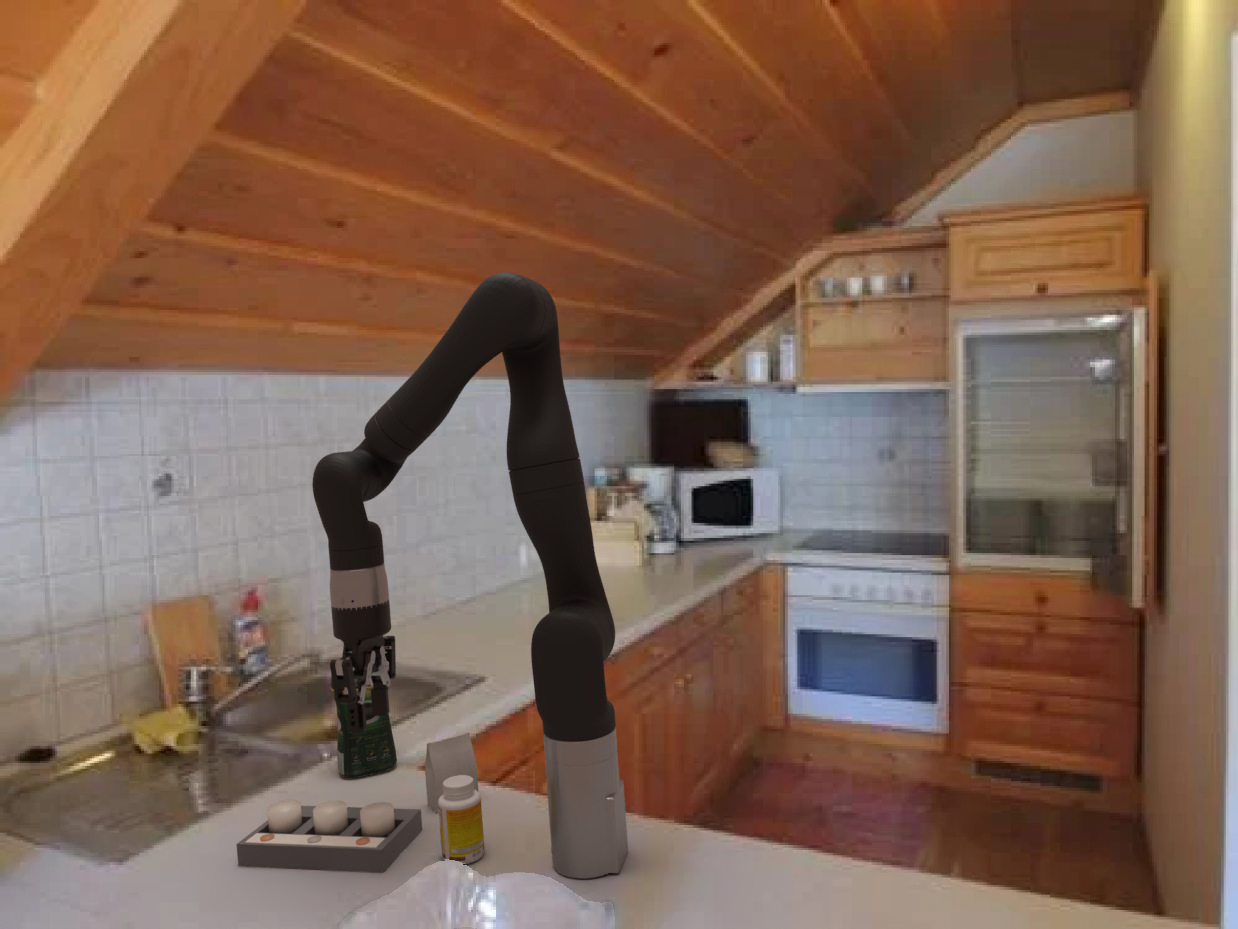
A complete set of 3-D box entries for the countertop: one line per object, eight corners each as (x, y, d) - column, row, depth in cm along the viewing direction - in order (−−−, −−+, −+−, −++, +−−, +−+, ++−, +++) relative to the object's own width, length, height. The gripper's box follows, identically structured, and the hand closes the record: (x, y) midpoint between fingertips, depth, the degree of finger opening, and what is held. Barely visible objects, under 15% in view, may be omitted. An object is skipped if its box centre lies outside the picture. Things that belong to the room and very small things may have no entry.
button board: (422, 830, 128) (420, 807, 128) (383, 872, 116) (381, 847, 116) (289, 825, 132) (287, 803, 132) (238, 866, 121) (236, 842, 120)
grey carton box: (479, 800, 137) (474, 736, 136) (437, 814, 133) (432, 747, 133) (468, 793, 140) (464, 730, 139) (427, 806, 136) (422, 741, 136)
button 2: (400, 824, 124) (399, 802, 124) (386, 838, 120) (384, 816, 120) (371, 823, 125) (369, 801, 125) (355, 837, 121) (354, 815, 121)
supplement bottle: (493, 854, 119) (488, 778, 119) (459, 871, 115) (453, 793, 115) (467, 843, 123) (462, 769, 123) (433, 859, 119) (427, 783, 118)
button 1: (308, 820, 127) (306, 800, 127) (291, 835, 123) (289, 813, 123) (280, 820, 128) (278, 799, 128) (262, 834, 124) (260, 812, 124)
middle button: (354, 822, 126) (352, 801, 126) (338, 837, 121) (336, 815, 121) (325, 821, 127) (323, 800, 127) (308, 836, 122) (306, 814, 122)
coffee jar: (392, 756, 158) (384, 651, 157) (400, 771, 151) (392, 661, 150) (334, 768, 154) (326, 660, 153) (340, 783, 147) (331, 671, 146)
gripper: (359, 611, 113) (370, 742, 114) (409, 588, 127) (418, 706, 128) (305, 612, 115) (316, 742, 116) (360, 590, 129) (369, 705, 130)
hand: (370, 722), depth 122 cm, fingers open, 6 cm apart
